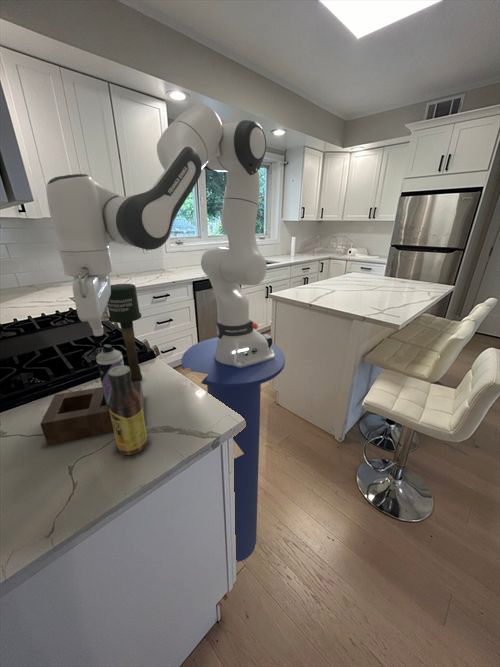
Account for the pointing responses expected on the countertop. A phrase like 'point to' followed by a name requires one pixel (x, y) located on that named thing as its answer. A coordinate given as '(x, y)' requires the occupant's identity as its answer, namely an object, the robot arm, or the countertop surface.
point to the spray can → (108, 367)
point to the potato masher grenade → (126, 321)
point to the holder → (79, 415)
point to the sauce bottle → (126, 412)
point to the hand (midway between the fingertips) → (102, 326)
